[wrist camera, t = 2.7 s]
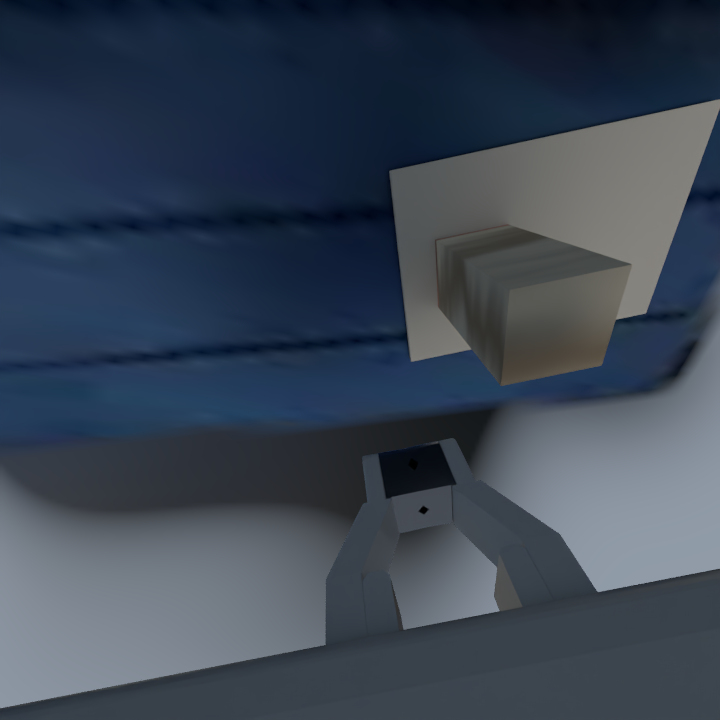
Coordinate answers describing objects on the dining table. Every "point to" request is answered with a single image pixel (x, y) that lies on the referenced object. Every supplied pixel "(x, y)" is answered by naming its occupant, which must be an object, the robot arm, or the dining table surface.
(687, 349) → the dining table surface
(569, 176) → the sand mat
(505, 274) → the birch block
